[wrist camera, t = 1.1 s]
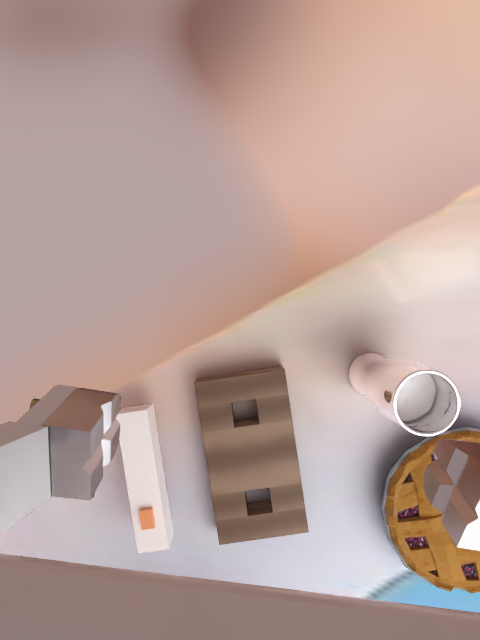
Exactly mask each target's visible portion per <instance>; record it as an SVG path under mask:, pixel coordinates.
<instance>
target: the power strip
mask: <svg viewBox="0 0 480 640" xmlns="http://www.w3.org/2000/svg"><path fill="white" fill-rule="evenodd" d="M116 419H117V420H118V422H119V423H120V435H119V440H120V446H121V452H122V459H123V465H124V471H125V477H126V484H127V490H128V496H129V502H130V508H131V515H132V521H133V527H134V533H135V539H136V546H137V552H138V554H140V553H147V552H154V551H161V550H168V549H169V548H170V544H171V541H172V538H173V535H174V533H173V526H172V520H171V514H170V507H169V501H168V495H167V488H166V482H165V476H164V469H163V463H162V457H161V450H160V444H159V438H158V431H157V425H156V419H155V412H154V406H153V403H152V404H145V405H138V406H131V407H125V408H123V409H121V410H120V411H119V413H118V415H117V416H116Z"/></svg>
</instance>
